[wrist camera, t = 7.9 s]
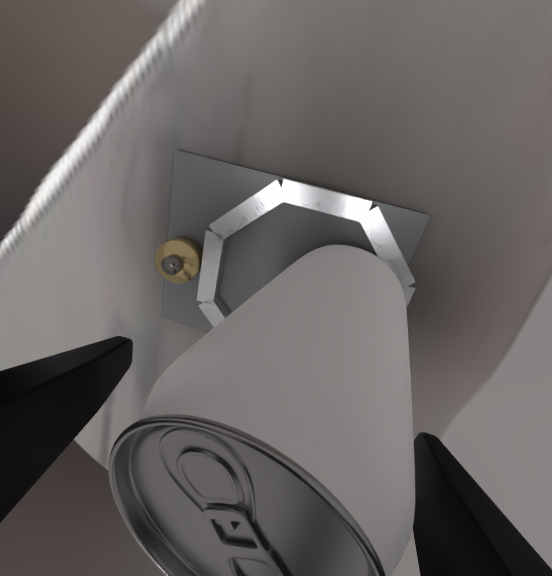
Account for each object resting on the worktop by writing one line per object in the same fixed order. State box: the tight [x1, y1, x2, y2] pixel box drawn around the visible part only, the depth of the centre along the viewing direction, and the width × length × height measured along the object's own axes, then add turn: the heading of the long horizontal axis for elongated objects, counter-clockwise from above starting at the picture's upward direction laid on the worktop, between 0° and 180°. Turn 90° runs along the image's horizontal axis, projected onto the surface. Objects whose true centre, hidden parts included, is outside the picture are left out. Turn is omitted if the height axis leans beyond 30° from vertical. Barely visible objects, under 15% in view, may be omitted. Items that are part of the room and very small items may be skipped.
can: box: [109, 245, 415, 576], centre depth 11 cm, size 6×6×12 cm
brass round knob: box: [155, 236, 203, 284], centre depth 16 cm, size 2×2×2 cm
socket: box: [197, 178, 416, 327], centre depth 16 cm, size 11×11×1 cm
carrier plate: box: [161, 150, 431, 331], centre depth 17 cm, size 10×13×1 cm
